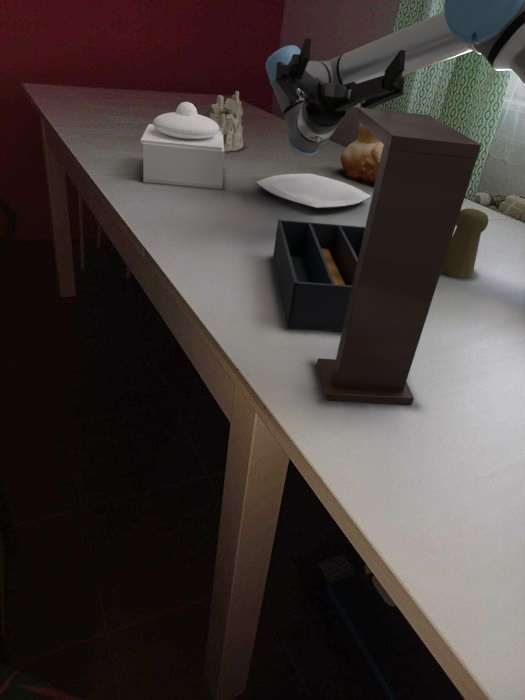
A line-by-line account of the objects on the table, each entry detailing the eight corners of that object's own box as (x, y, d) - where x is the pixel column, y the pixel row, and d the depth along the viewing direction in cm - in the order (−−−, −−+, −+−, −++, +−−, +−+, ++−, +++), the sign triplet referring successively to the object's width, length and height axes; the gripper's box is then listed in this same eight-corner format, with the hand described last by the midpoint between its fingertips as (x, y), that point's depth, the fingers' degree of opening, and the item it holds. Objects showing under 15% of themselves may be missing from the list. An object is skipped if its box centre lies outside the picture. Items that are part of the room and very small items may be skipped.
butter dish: (222, 188, 121) (227, 113, 113) (140, 181, 119) (140, 104, 111) (221, 168, 136) (225, 100, 128) (148, 161, 134) (148, 91, 125)
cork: (441, 260, 99) (459, 202, 93) (474, 269, 97) (495, 210, 91) (435, 271, 94) (454, 210, 89) (470, 281, 93) (492, 219, 87)
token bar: (311, 258, 91) (313, 247, 90) (325, 259, 91) (328, 248, 90) (335, 318, 74) (338, 305, 73) (352, 318, 74) (355, 306, 73)
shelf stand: (307, 330, 72) (348, 106, 57) (379, 335, 73) (438, 116, 58) (325, 400, 60) (384, 136, 45) (411, 404, 61) (497, 148, 46)
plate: (241, 188, 123) (242, 180, 122) (309, 178, 138) (310, 170, 137) (315, 220, 110) (316, 211, 109) (381, 205, 124) (383, 197, 123)
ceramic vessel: (414, 200, 131) (431, 136, 123) (327, 172, 144) (337, 112, 136) (439, 192, 140) (456, 131, 132) (355, 166, 153) (366, 110, 145)
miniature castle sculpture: (213, 134, 167) (215, 82, 158) (253, 149, 159) (258, 94, 150) (176, 143, 156) (176, 87, 147) (217, 159, 149) (220, 101, 140)
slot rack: (272, 258, 92) (277, 219, 88) (361, 264, 93) (369, 227, 90) (287, 328, 72) (294, 282, 68) (398, 335, 74) (410, 291, 70)
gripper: (387, 140, 98) (438, 91, 77) (251, 126, 95) (265, 71, 74) (390, 98, 97) (442, 37, 76) (253, 83, 94) (268, 15, 73)
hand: (355, 54), depth 75 cm, fingers open, 13 cm apart
